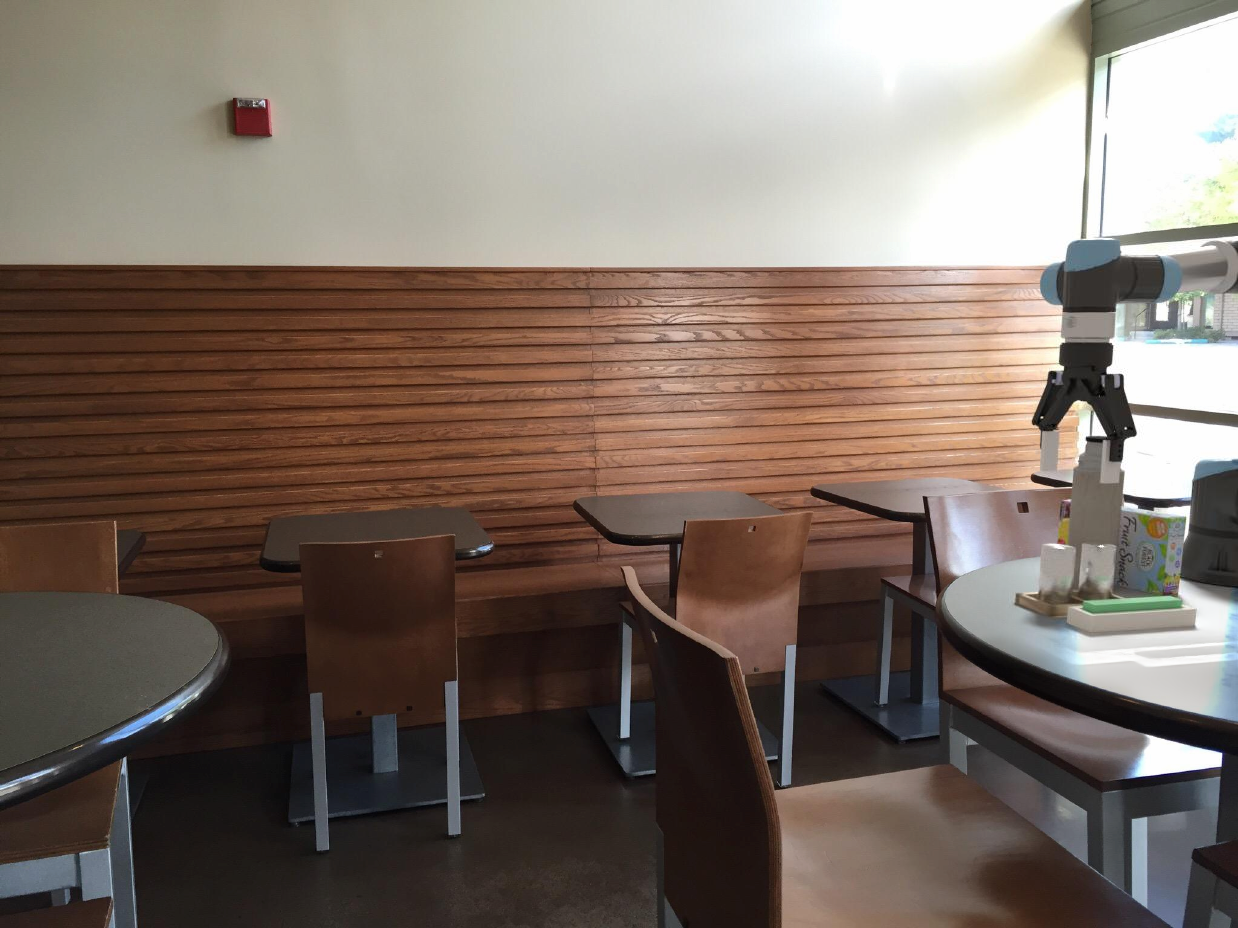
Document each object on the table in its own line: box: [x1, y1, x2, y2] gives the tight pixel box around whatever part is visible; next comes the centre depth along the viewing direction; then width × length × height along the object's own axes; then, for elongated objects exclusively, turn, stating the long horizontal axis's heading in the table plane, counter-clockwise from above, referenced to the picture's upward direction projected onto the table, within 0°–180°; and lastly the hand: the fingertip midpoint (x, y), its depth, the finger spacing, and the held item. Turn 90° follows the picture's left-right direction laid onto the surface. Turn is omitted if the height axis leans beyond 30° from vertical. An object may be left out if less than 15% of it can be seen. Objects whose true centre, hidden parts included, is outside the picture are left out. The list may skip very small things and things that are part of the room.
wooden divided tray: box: [1012, 589, 1125, 619], centre depth 157 cm, size 16×10×3 cm, turn 105°
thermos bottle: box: [1068, 435, 1126, 592], centre depth 169 cm, size 8×8×28 cm
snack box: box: [1056, 498, 1187, 596], centre depth 174 cm, size 21×6×15 cm, turn 29°
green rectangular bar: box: [1082, 595, 1183, 613], centre depth 147 cm, size 16×2×4 cm, turn 105°
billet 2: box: [1078, 542, 1117, 601], centre depth 157 cm, size 5×5×10 cm
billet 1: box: [1037, 543, 1076, 605], centre depth 155 cm, size 5×5×10 cm
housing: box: [1066, 603, 1197, 633], centre depth 147 cm, size 19×5×4 cm, turn 105°
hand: (1077, 476), depth 153 cm, fingers open, 13 cm apart
